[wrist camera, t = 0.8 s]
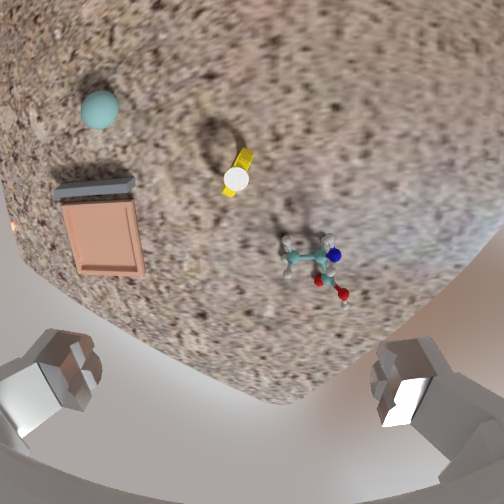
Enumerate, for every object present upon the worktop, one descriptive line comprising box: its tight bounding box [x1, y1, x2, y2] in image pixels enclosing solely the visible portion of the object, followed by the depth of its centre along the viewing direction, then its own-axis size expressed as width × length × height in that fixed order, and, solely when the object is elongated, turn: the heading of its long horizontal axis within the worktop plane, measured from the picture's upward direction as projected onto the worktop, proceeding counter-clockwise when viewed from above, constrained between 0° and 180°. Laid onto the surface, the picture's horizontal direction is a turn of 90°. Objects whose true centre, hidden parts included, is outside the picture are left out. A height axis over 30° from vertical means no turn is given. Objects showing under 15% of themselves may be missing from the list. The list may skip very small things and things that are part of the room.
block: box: [53, 177, 135, 198], centre depth 38 cm, size 1×12×3 cm, turn 90°
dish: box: [61, 199, 146, 277], centre depth 43 cm, size 12×12×1 cm
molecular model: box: [281, 233, 349, 309], centre depth 42 cm, size 12×10×10 cm
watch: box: [221, 148, 254, 197], centre depth 36 cm, size 6×3×6 cm, turn 153°
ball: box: [81, 91, 119, 129], centre depth 32 cm, size 5×5×5 cm
